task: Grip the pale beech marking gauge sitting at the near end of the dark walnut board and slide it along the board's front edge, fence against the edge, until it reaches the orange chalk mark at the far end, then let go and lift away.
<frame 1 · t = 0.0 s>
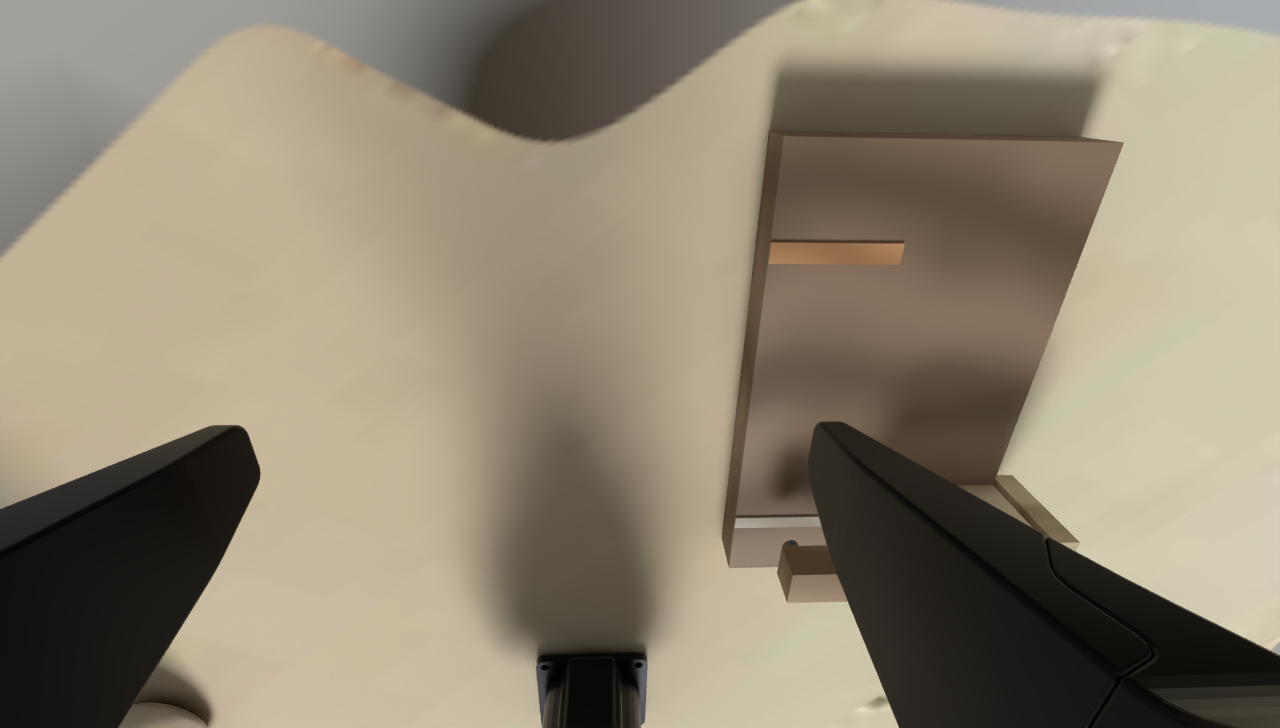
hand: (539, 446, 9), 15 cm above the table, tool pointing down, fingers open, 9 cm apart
walnut board: (871, 370, 26), on the table
marking gauge: (919, 518, 27), point 2 cm above the table, touching walnut board
plastic bottle: (169, 716, 35), on the table
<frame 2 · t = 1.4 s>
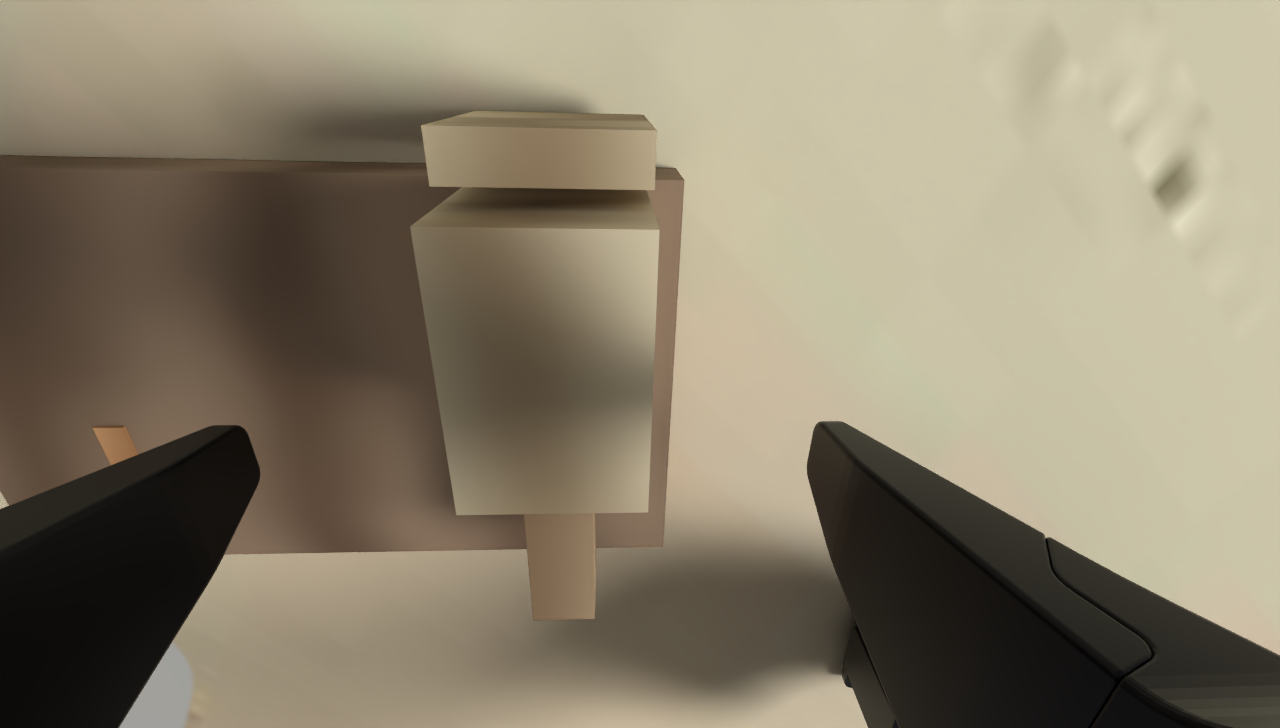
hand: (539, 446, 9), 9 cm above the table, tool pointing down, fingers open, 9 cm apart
walnut board: (348, 362, 18), on the table
marking gauge: (564, 295, 15), point 2 cm above the table, touching walnut board
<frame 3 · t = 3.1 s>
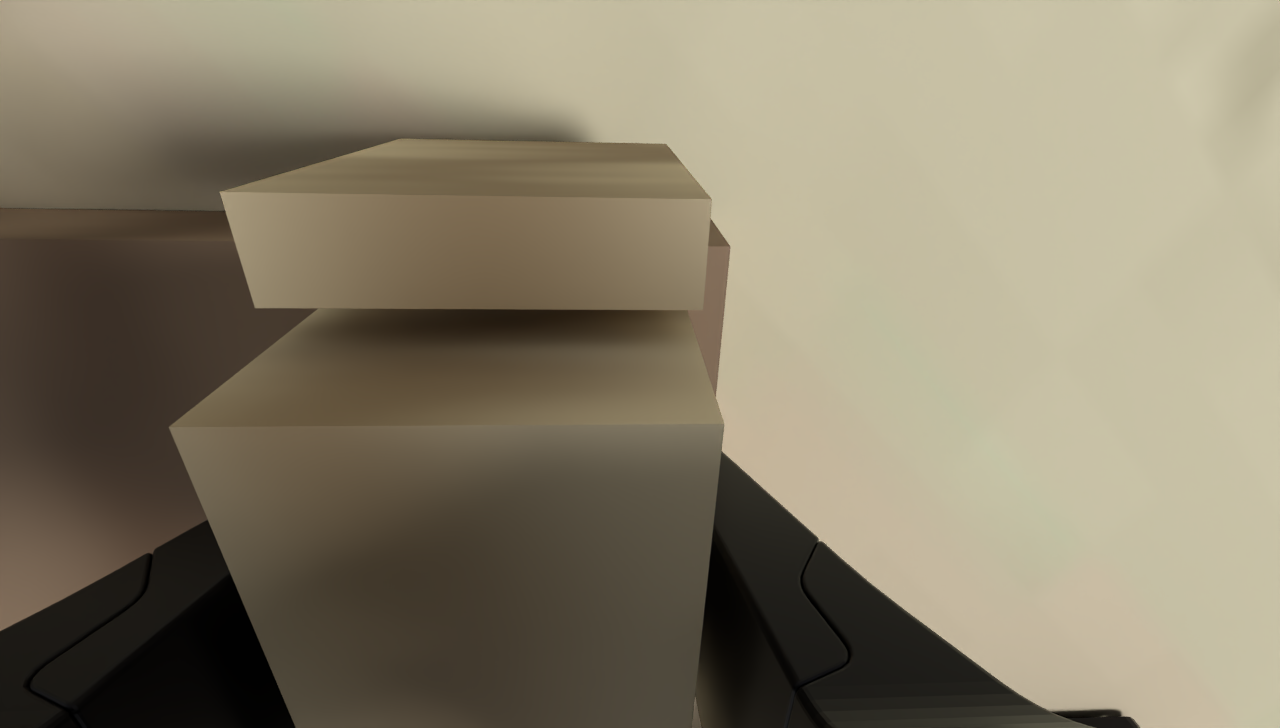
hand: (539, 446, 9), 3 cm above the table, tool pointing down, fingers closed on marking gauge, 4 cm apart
walnut board: (248, 480, 13), on the table
marking gauge: (545, 412, 10), point 2 cm above the table, touching gripper, walnut board
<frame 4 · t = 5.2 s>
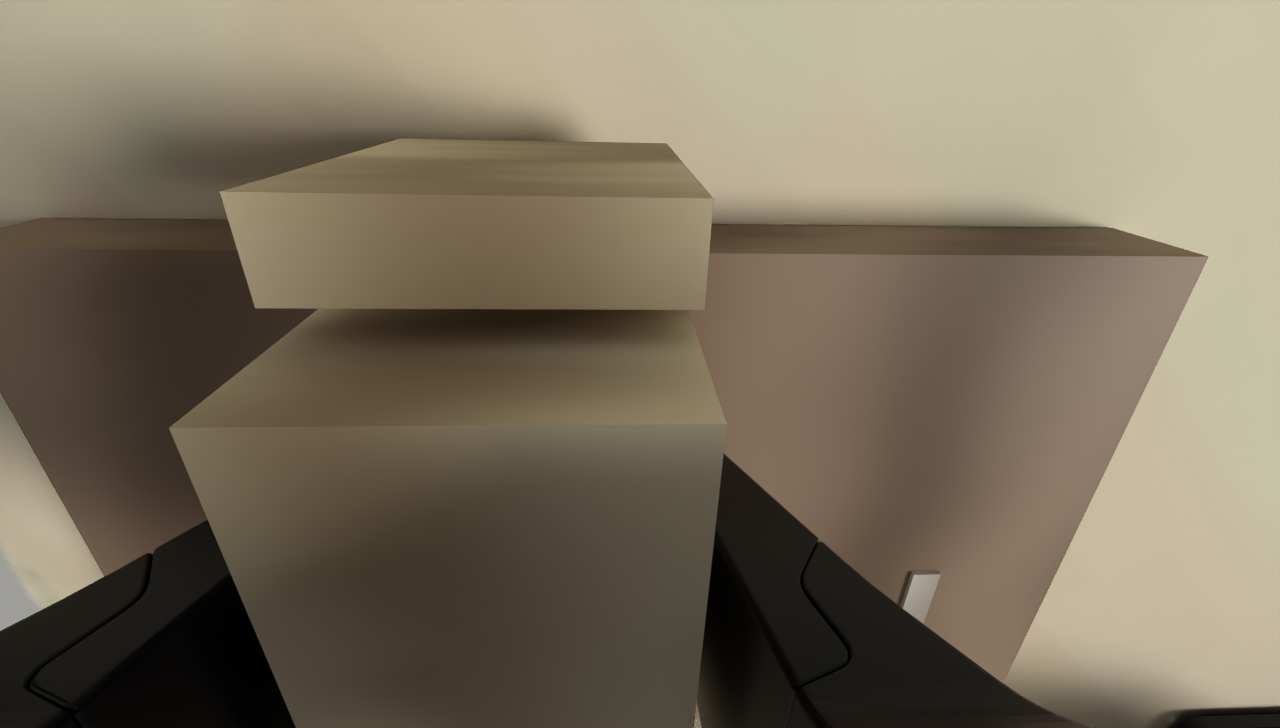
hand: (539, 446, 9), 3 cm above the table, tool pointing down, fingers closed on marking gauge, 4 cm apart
walnut board: (603, 479, 13), on the table
marking gauge: (545, 412, 10), point 2 cm above the table, touching gripper
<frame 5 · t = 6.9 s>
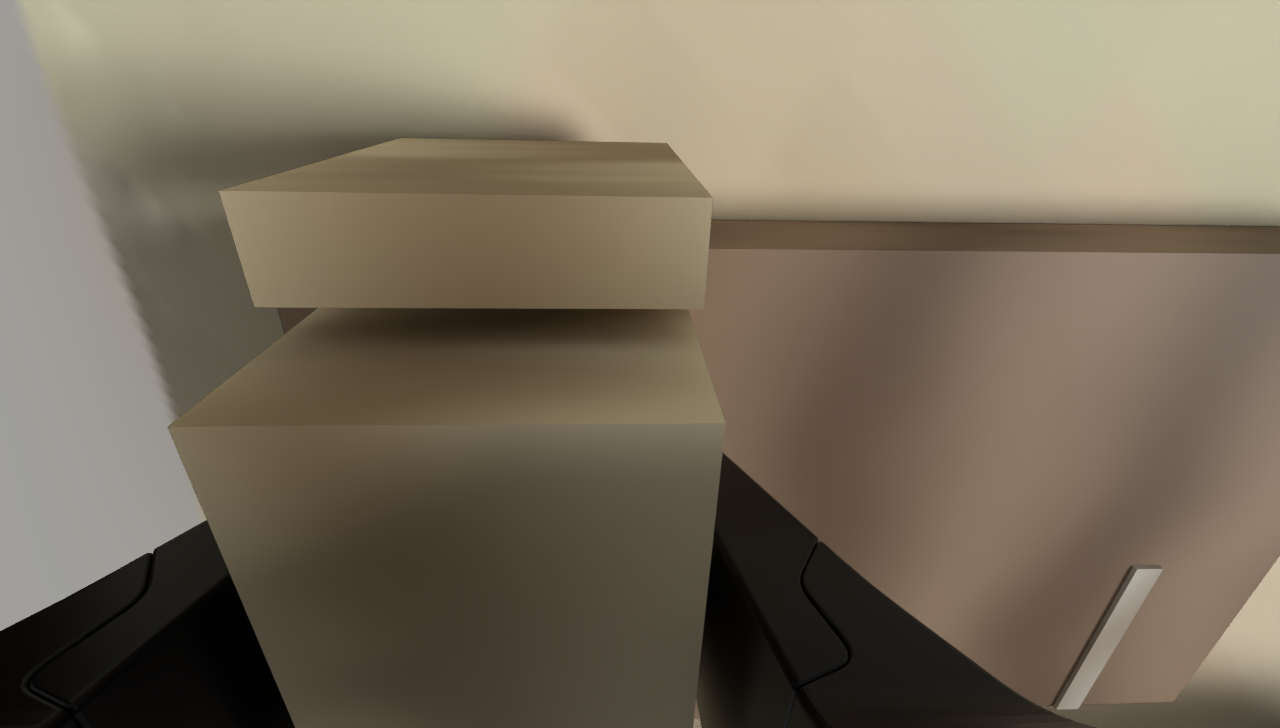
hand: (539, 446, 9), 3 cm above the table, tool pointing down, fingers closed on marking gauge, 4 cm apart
walnut board: (812, 475, 13), on the table
marking gauge: (545, 412, 10), point 2 cm above the table, touching gripper, walnut board
when the fingers open (3 cm above the table, at t = 7.5 s): marking gauge stays where it is, resting on walnut board.
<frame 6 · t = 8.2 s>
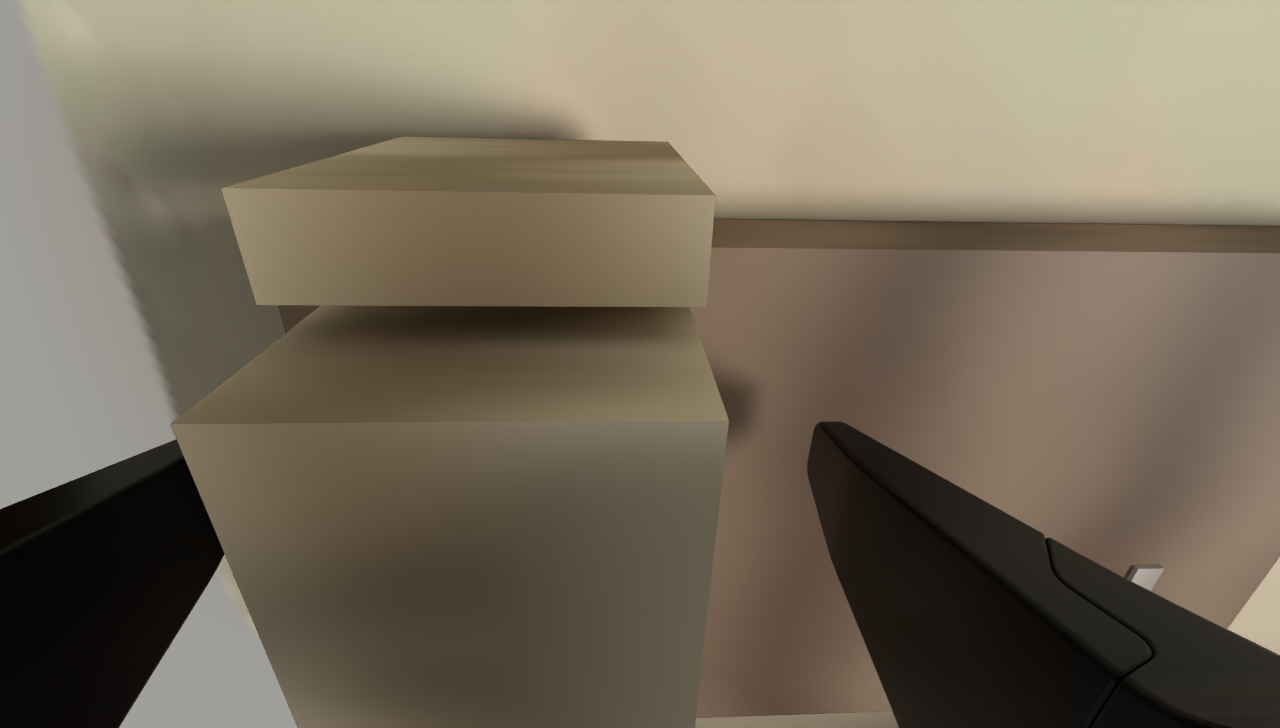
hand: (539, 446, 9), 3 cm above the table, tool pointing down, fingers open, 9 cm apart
walnut board: (813, 475, 13), on the table
marking gauge: (546, 411, 10), point 2 cm above the table, touching walnut board
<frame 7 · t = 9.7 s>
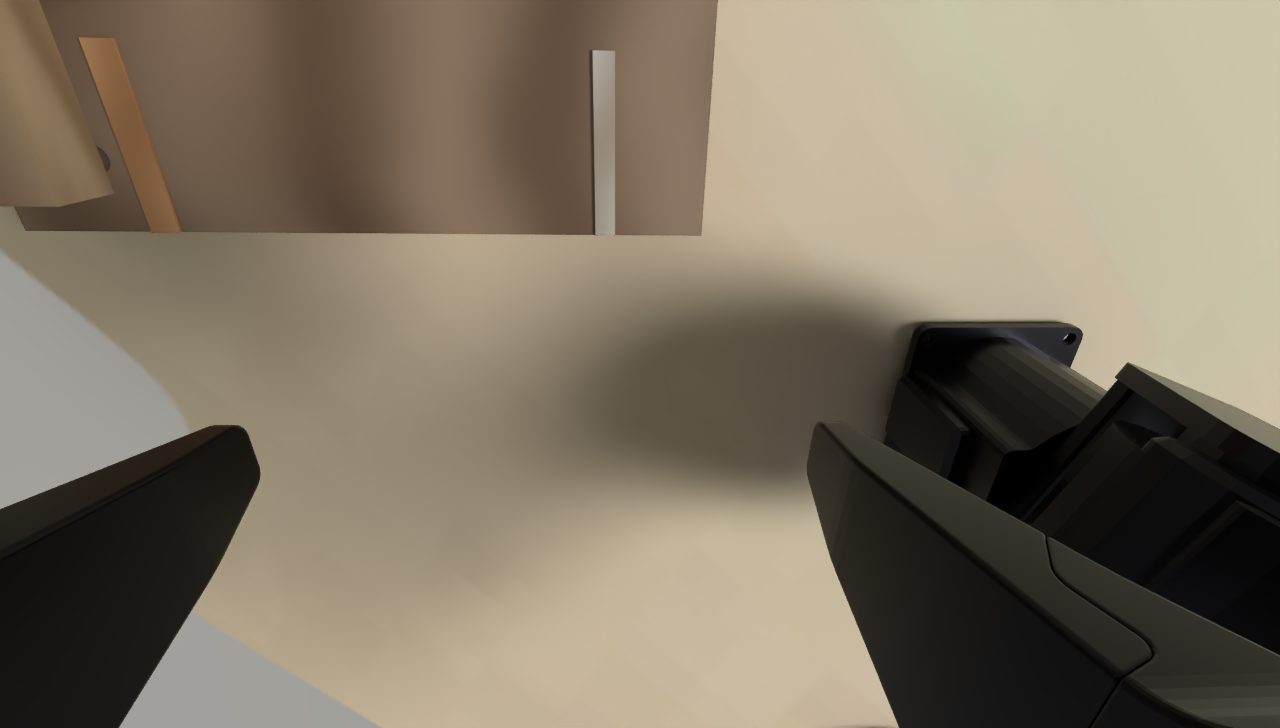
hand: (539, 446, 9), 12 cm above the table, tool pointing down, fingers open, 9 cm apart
walnut board: (359, 7, 16), on the table
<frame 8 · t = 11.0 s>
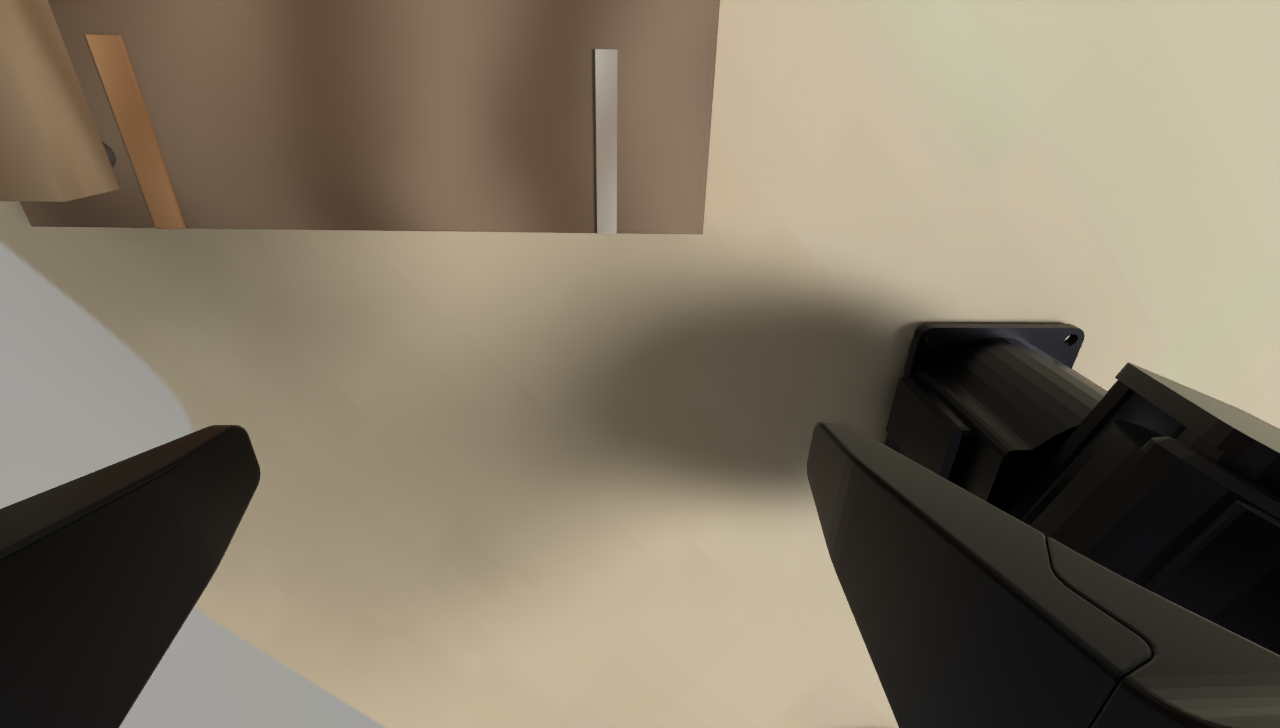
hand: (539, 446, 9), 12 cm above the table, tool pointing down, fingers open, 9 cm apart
walnut board: (363, 5, 16), on the table
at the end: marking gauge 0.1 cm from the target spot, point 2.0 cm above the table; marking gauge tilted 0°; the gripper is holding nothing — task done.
